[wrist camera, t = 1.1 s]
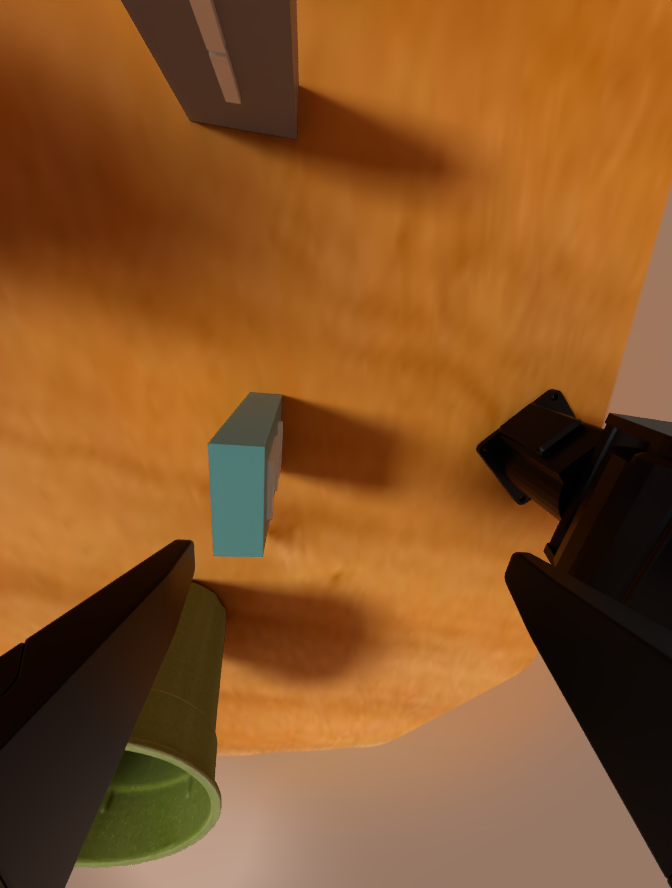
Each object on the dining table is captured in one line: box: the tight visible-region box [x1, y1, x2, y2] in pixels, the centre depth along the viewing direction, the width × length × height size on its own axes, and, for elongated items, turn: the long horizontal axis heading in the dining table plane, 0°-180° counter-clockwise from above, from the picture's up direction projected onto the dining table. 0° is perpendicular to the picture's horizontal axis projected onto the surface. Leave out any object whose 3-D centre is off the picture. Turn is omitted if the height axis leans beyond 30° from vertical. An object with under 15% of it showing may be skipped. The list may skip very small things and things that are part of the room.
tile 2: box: [208, 392, 283, 557], centre depth 16 cm, size 2×5×9 cm, turn 174°
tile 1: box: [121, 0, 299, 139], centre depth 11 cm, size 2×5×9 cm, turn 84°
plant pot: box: [74, 582, 226, 868], centre depth 20 cm, size 12×12×11 cm
